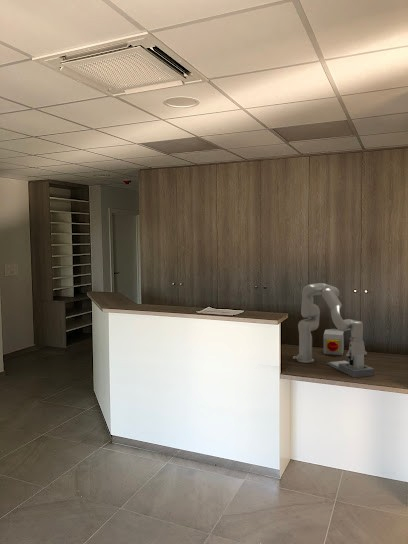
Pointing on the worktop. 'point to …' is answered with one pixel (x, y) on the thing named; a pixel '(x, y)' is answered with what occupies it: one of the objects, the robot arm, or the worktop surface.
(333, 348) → the electrical switch box
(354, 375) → the case
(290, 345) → the worktop surface
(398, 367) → the worktop surface
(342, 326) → the robot arm
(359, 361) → the small box
